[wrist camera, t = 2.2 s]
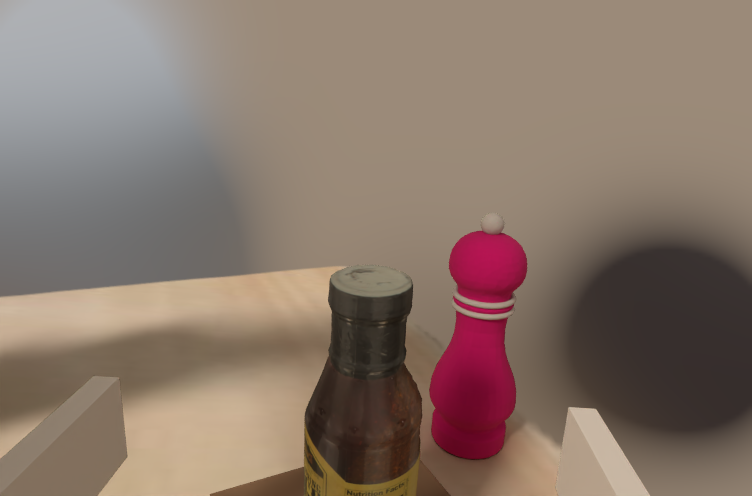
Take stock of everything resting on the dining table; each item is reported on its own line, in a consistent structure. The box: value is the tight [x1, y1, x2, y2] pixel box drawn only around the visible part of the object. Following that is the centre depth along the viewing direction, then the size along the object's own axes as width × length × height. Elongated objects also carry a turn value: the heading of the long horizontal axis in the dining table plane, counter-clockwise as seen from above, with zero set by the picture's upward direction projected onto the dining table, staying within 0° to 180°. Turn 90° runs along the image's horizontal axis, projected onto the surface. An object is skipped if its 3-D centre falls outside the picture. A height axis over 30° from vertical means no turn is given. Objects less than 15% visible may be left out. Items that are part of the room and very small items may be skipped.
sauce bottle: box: [304, 265, 422, 496], centre depth 28 cm, size 6×6×20 cm
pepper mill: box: [429, 213, 527, 459], centre depth 43 cm, size 7×7×20 cm
